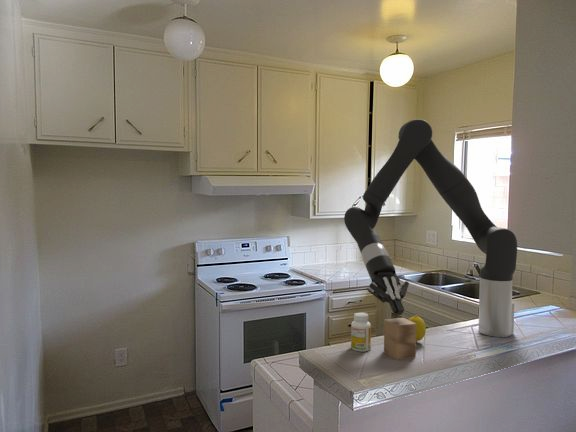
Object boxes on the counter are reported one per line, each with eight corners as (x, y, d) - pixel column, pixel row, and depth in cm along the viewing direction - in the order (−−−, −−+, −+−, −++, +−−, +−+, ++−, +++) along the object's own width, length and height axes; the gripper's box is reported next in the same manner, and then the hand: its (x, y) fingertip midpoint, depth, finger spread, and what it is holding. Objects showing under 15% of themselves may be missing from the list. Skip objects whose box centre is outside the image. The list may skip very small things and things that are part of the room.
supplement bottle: (361, 344, 123) (362, 310, 123) (374, 350, 119) (375, 315, 118) (347, 347, 121) (347, 313, 120) (359, 353, 116) (359, 318, 116)
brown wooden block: (402, 349, 119) (403, 317, 119) (415, 357, 114) (416, 323, 113) (383, 351, 117) (384, 319, 117) (396, 359, 112) (396, 325, 111)
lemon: (403, 339, 128) (403, 312, 127) (421, 339, 128) (421, 312, 128) (409, 345, 122) (410, 318, 122) (428, 345, 123) (429, 317, 122)
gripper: (362, 254, 121) (383, 308, 110) (402, 253, 125) (427, 304, 114) (353, 270, 127) (373, 322, 115) (392, 268, 131) (414, 318, 120)
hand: (400, 313), depth 115 cm, fingers closed
